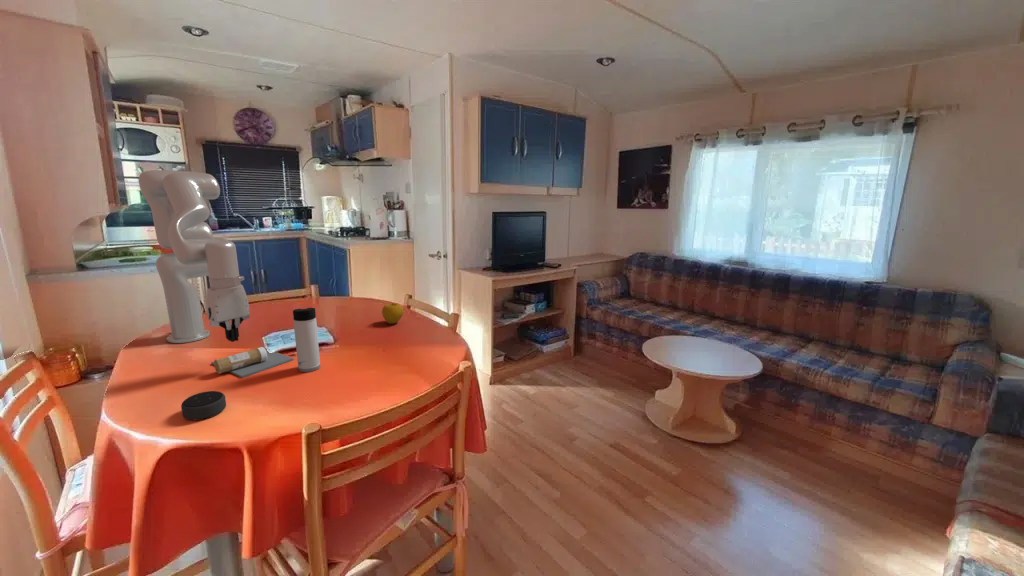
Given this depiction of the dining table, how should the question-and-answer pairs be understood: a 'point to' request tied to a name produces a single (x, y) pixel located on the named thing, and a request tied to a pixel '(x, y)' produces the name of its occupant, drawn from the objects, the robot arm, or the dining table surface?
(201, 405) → the smart speaker
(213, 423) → the dining table surface
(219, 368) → the sprinkles bottle
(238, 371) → the rubber mat
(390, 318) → the apple
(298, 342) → the travel mug
